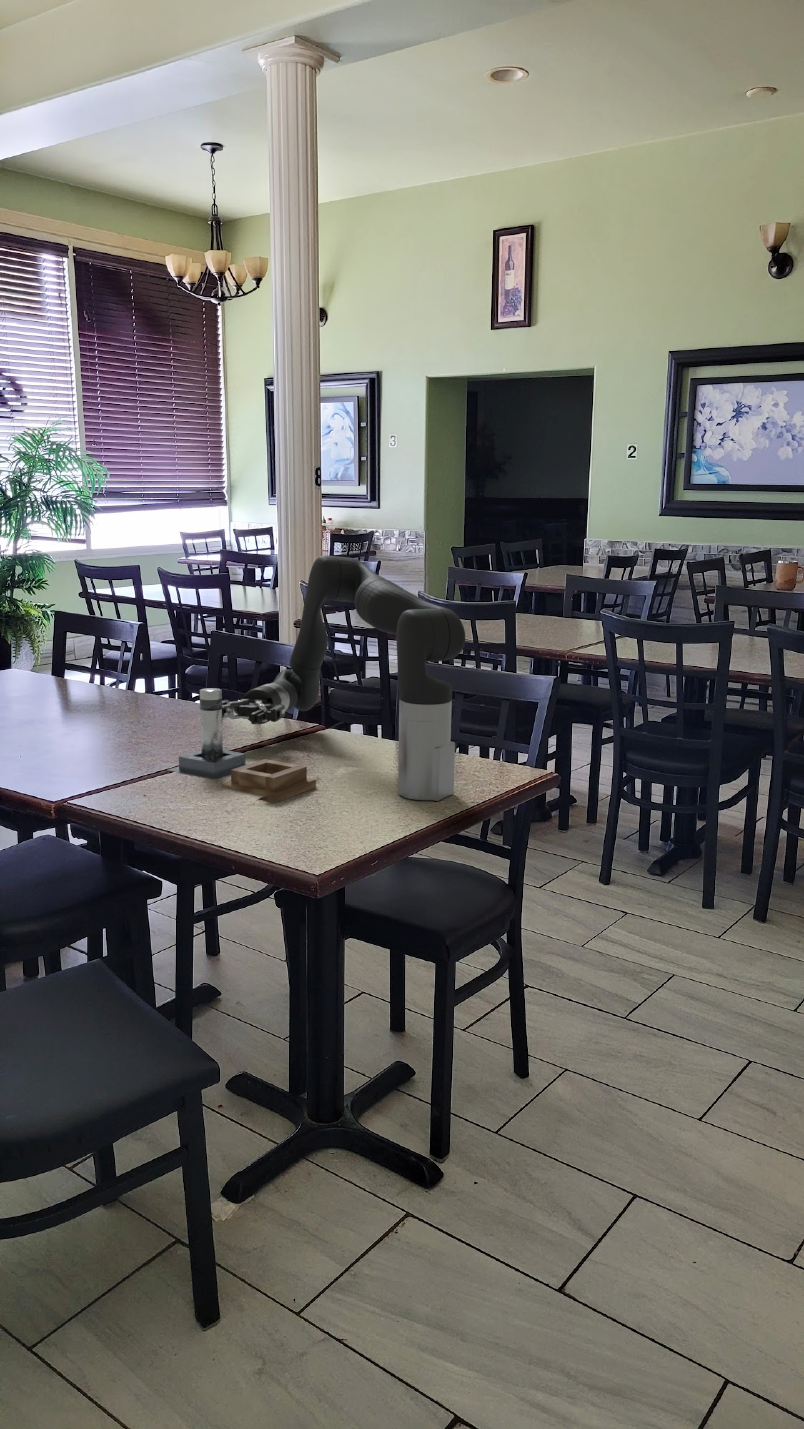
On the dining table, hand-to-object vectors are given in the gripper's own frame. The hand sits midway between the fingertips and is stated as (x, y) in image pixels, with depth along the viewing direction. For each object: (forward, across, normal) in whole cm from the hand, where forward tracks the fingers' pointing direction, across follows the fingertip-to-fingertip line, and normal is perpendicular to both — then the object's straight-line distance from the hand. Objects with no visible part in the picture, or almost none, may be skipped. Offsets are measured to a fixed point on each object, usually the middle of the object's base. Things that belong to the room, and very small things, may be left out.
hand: (232, 717), depth 205 cm
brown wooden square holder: (+16, +15, +9) cm, 24 cm away
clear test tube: (+9, 0, +8) cm, 12 cm away
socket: (+9, 0, +9) cm, 13 cm away
